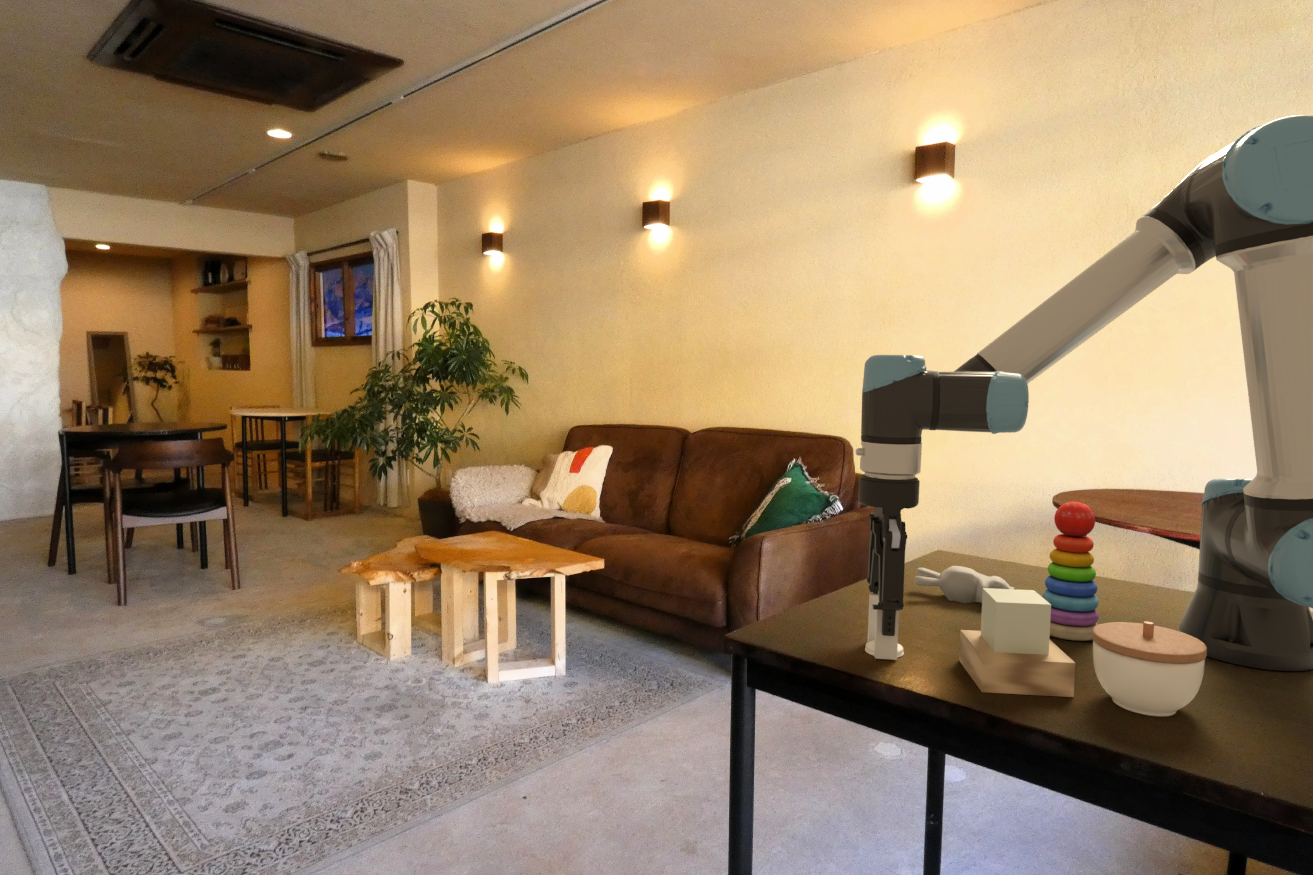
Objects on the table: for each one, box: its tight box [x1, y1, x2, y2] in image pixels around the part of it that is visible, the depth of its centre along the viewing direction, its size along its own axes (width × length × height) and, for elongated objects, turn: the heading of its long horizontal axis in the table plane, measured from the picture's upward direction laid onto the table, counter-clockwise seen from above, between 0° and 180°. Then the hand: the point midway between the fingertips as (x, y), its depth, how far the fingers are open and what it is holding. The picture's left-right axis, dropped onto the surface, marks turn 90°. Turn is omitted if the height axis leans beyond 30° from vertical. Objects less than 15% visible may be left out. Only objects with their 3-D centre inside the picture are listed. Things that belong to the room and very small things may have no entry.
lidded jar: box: [1092, 620, 1207, 718], centre depth 87 cm, size 11×11×9 cm
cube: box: [980, 588, 1051, 655], centre depth 94 cm, size 6×6×6 cm
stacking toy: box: [1042, 501, 1099, 642], centre depth 110 cm, size 8×8×19 cm
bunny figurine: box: [913, 565, 1015, 604], centre depth 127 cm, size 10×5×15 cm
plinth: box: [958, 629, 1076, 698], centre depth 94 cm, size 10×10×4 cm
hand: (881, 649), depth 103 cm, fingers open, 5 cm apart
